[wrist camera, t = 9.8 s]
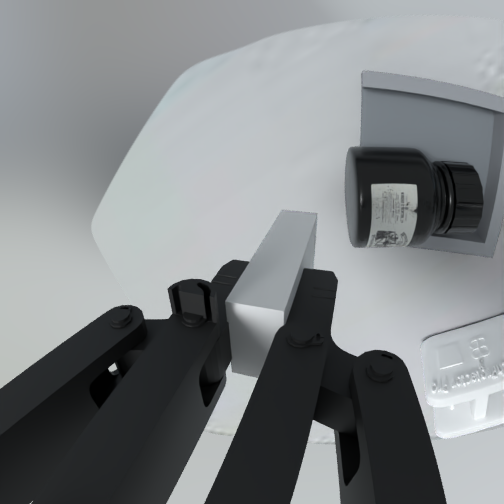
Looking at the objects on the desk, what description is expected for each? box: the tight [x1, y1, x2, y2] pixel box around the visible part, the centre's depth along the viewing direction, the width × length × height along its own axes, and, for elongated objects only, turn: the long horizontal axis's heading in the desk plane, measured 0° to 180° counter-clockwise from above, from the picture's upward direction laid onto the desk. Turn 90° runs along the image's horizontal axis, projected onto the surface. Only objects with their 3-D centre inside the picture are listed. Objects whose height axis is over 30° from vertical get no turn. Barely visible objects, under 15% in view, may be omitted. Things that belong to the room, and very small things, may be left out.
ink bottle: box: [345, 147, 484, 248], centre depth 26 cm, size 10×9×12 cm
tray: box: [360, 71, 504, 258], centre depth 26 cm, size 16×16×4 cm
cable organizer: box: [420, 314, 504, 438], centre depth 31 cm, size 15×11×12 cm
